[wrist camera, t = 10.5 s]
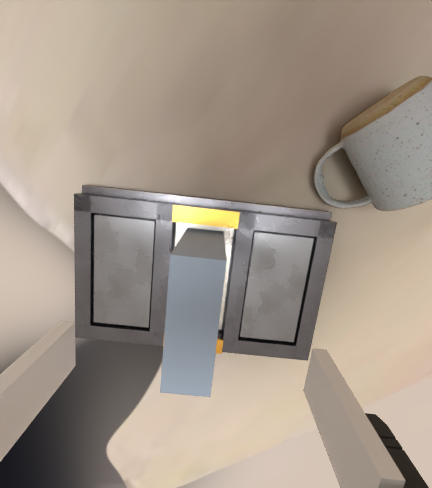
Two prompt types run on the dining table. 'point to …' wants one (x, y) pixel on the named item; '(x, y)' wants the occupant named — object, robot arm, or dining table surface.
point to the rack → (236, 276)
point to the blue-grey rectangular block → (193, 312)
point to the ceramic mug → (389, 150)
